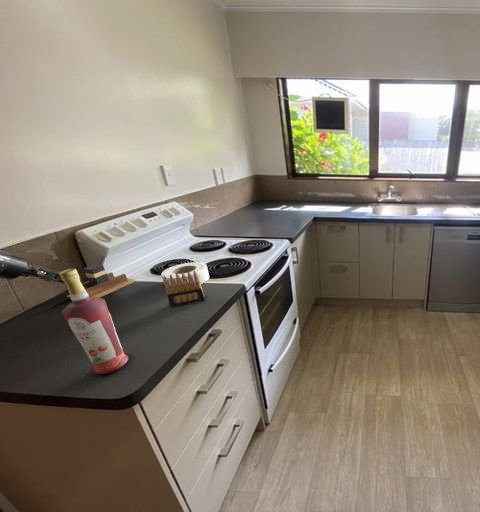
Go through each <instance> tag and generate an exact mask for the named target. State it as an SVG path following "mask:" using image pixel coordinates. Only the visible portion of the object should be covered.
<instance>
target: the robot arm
mask: <svg viewBox="0 0 480 512" xmlns="http://www.w3.org/2000/svg"><path fill="white" fill-rule="evenodd" d="M19 277H20V278H25V279H29V280H32V279H33V280H39V281H44V282H48V283H51V282H57V283H60V284H65V283H64V281H63V280H62V278H61V276H60V274H59V272H55V271H51V270H50V269H45V268H42V267H39V266H36V265H29V261H28V259H27V258H26V257H24V256H20V255H17V254H14V253H11V252H8V251H3V250H1V249H0V279H4V280H7V281H11V280H15V279H17V278H19ZM65 285H66V284H65Z"/></svg>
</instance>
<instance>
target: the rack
mask: <svg viewBox="0 0 480 512" xmlns="http://www.w3.org/2000/svg"><path fill="white" fill-rule="evenodd" d="M107 276H108V278H109V280H107V281H105V282H103V283H100V284H98V285H95V286H93V287H91V285H90V282H89V280H87V281H85V282H83V283H82V282H81V284H82V285H83V287H84V289H85V290H86V292H87V293H88V295H89V297H97V298H102V297H105V296H106V295H109V294H111V293H113V292H115V291H118V290H120V289H122V288H124V287H126V286H128V285H130V284H132V283H135V279H130V278H128V277H127V275H126V273H122V274H119V275H117V276H115V275H114V273H113V272H111V271H110V272H108V273H107ZM66 298H69V300H71V297H70V294H69V295H67V296H66Z"/></svg>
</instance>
